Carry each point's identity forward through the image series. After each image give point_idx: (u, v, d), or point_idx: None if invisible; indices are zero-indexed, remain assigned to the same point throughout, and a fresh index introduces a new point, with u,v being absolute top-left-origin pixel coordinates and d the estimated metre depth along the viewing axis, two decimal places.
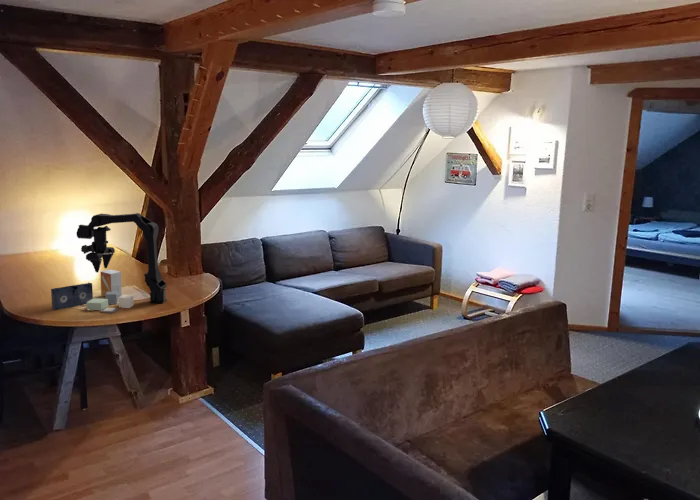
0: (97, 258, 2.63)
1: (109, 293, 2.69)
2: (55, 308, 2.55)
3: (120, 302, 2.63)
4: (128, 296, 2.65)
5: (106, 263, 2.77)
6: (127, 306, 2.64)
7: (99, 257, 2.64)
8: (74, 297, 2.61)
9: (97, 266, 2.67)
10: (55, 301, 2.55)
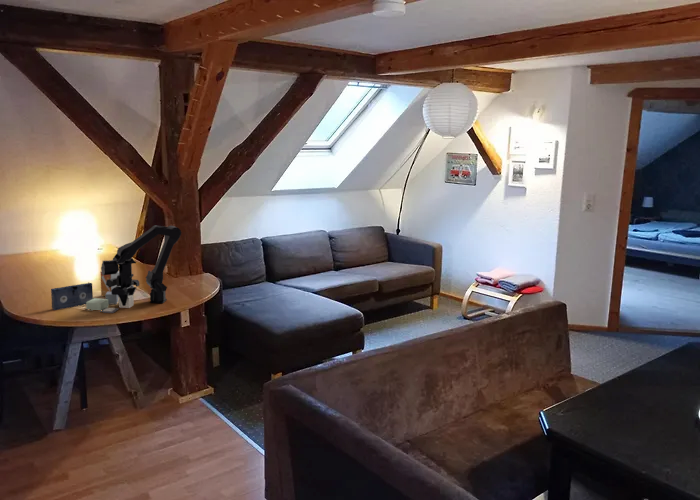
0: (123, 293, 2.56)
1: (109, 293, 2.69)
2: (55, 308, 2.55)
3: (120, 302, 2.63)
4: (128, 296, 2.65)
5: None
6: (127, 306, 2.64)
7: (125, 292, 2.57)
8: (74, 297, 2.61)
9: (124, 299, 2.62)
10: (55, 301, 2.55)
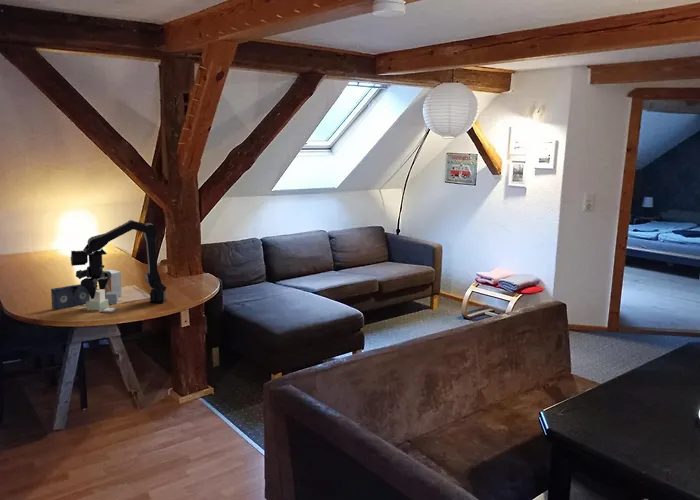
0: (92, 284, 2.49)
1: (109, 293, 2.69)
2: (55, 308, 2.55)
3: None
4: (99, 290, 2.59)
5: (102, 288, 2.64)
6: (98, 300, 2.58)
7: (94, 283, 2.50)
8: (74, 297, 2.61)
9: (92, 292, 2.54)
10: (55, 301, 2.55)
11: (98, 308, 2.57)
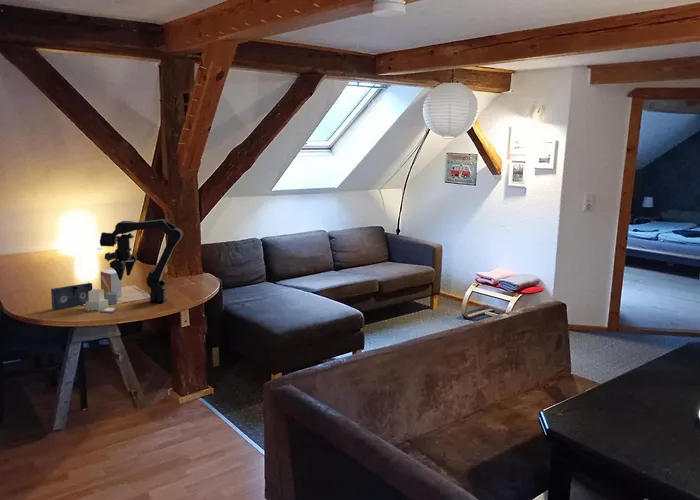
0: (121, 266, 2.61)
1: (109, 293, 2.69)
2: (55, 308, 2.55)
3: (90, 296, 2.57)
4: (98, 290, 2.59)
5: (129, 270, 2.76)
6: (97, 300, 2.57)
7: (123, 265, 2.62)
8: (74, 297, 2.61)
9: (121, 274, 2.66)
10: (55, 301, 2.55)
11: (98, 308, 2.57)
